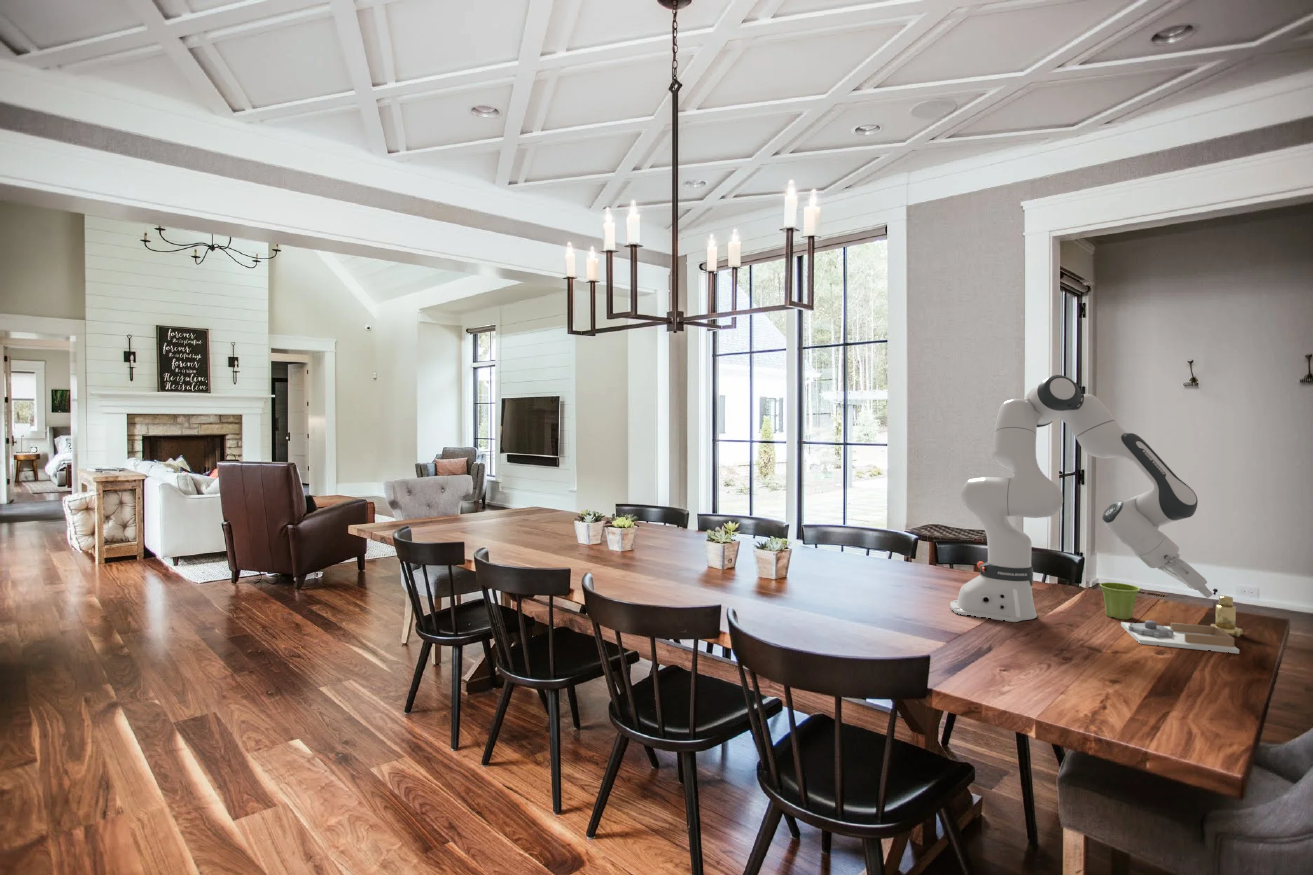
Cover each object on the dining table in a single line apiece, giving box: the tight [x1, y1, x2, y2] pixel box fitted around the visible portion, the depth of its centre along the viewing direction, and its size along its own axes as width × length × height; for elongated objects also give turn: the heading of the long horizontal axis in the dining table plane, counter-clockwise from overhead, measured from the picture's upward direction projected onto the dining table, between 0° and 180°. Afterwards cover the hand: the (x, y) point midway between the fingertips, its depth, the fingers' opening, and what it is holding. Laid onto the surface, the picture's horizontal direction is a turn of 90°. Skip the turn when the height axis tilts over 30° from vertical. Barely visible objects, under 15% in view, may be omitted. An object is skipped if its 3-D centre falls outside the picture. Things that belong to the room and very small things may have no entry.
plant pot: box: [1099, 582, 1141, 620], centre depth 193 cm, size 9×9×9 cm
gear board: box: [1120, 619, 1240, 654], centre depth 173 cm, size 20×16×4 cm
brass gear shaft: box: [1210, 595, 1243, 637], centre depth 178 cm, size 7×6×9 cm
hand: (1201, 590), depth 181 cm, fingers open, 8 cm apart
